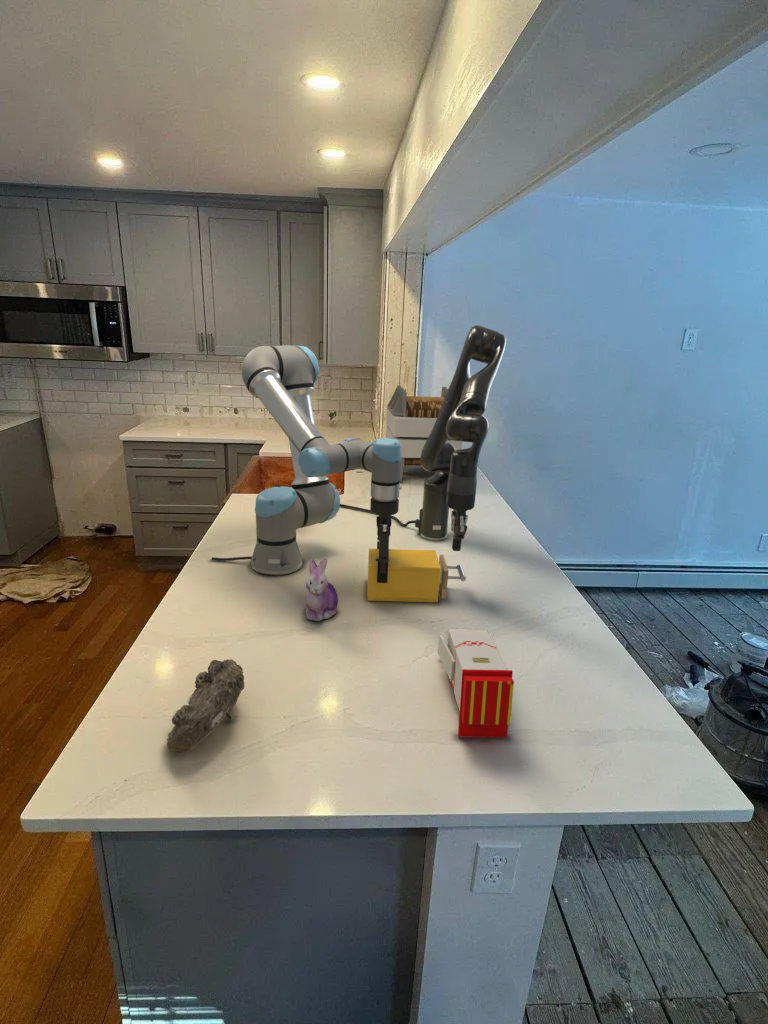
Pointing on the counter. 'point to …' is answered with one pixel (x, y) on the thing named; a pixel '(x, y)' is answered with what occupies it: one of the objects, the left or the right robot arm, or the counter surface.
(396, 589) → the cabinet
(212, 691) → the fossil
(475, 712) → the toy
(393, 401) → the grey crate
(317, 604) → the figurine
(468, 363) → the right robot arm
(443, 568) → the drawer
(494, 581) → the counter surface
